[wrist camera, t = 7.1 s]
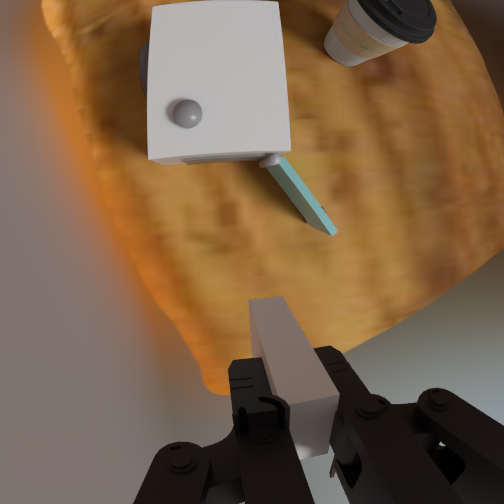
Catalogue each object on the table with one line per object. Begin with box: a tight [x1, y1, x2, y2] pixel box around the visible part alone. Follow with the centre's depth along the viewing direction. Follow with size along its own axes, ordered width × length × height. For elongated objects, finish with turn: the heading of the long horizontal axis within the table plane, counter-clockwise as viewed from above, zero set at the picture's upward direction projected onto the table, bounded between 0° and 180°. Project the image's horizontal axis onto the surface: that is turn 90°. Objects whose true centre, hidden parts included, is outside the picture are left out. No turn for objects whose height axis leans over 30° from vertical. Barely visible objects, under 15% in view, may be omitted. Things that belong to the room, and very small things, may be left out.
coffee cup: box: [324, 0, 437, 66], centre depth 22 cm, size 9×9×15 cm
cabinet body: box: [139, 0, 291, 166], centre depth 25 cm, size 16×13×10 cm
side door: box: [258, 154, 338, 236], centre depth 30 cm, size 10×2×7 cm, turn 39°
